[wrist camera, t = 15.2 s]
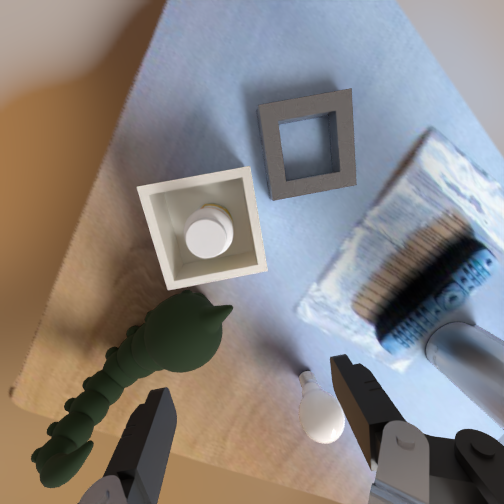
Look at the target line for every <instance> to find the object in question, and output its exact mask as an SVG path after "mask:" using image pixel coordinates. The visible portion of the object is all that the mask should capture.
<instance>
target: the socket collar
mask: <svg viewBox="0 0 504 504" xmlns="http://www.w3.org/2000/svg"><path fill="white" fill-rule="evenodd" d="M256 111H257V118H258V124H259V131H260V137H261V144H262V150H263V157H264V163H265V170H266V176H267V183H268V189H269V196H270V199H271V200H272V201H274V200H279V199H285V198H290V197H295V196H301V195H306V194H311V193H317V192H322V191H327V190H333V189H338V188H343V187H348V186H354V185H357V184H356V165H355V146H354V127H353V107H352V88H351V89H345V90H340V91H334V92H329V93H323V94H317V95H312V96H306V97H300V98H295V99H289V100H284V101H278V102H272V103H267V104H261V105H258V108H257V110H256ZM323 116H328V119H329V132H330V145H331V157H332V170H333V172H331V173H326V174H320V175H315V176H310V177H304V178H299V179H294V180H288V181H286V177H285V170H284V162H283V154H282V147H281V139H280V132H279V124H284V123H290V122H295V121H301V120H306V119H312V118H317V117H323Z"/></svg>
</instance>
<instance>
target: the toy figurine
mask: <svg viewBox="0 0 504 504" xmlns="http://www.w3.org/2000/svg"><path fill="white" fill-rule="evenodd" d="M232 310H233V306H232V305H221V306H213V305H212V304H211V303H210V301H209V300H208V299H207V298H206V297H205V296H204V295H203V294H201V293H196V292H195V293H192V291H190V290H185V291H183V292H182V293H180V294H177V295H174V296H172V297H170V298H168V299H166V300H165V301H163V302H162V303H160V304H159V305H158V306H157V307H156V308H155V309H154V310H152V311H150V312H148V313H147V315H146V318H145V323H144V324H143V325H142V326H141V327H140V328H139V326H133V327H130V328H129V329H128V331H127V334H126V335H127V339H126V340H124V341H123V343H122V344H121V346H120V347H119V348H118V347H112V348H110V349H109V350H107V353H106V356H105V357H106V359H107V360H106V362H105V364H104V366H103V370H101V371H99V372H97V373H96V374H95V375H93V376H92V377H88V378H87V379H86V380H85V381H84V382H83V388H84V390H85V391H84V392H82V393H81V394H80V395H79V396H78V397H77V398H71V399H68V400H67V402H66V403H65V405H64V408H65V410H66V411H68V412H69V414H68V415H66V416H65V417H64V418H63V419H61V420H60V421H59V422H54V423H52V424H51V425H50V426H49V427H48V429H47V434H48V435H49V436H52V438H51V439H50V440H49V441H48V442H47V443H46V444H45V445H44V446H43V447H41V448H38V449H36V450H35V451H34V453H33V454H32V456H31V460H32V462H34V463H36V469H37V471H38V472H39V473H40V481H41V483H42V484H43V485H44V487H47V488H55V487H60V486H61V485H63V484H65V483H66V482H68V481H69V480H70V479H71V478H72V477H73V476H74V475H75V474H76V473H77V472H78V471H79V469H80V468H81V467H82V465H83V463H84V462H85V460H86V458H87V457H88V455H89V454H90V452H91V450H92V448H93V444H94V443H93V442H92V441H88V440H89V438H90V437H91V434H92V432H93V429H94V426H95V425H97V424H98V423H99V422H101V421H102V419H103V418H104V417H105V416H106V414H107V412H108V409H109V406H110V405H112V404H113V403H115V402H116V401H117V400H118V399H119V397H120V396H121V394H122V393H123V390H124V388H125V387H128V386H130V385H132V384H133V383H134V382H135V381H137V379H139V378H143V377H147V376H148V375H150V374H152V373H153V372H155V371H160V370H163V369H166V370H168V371H171V372H180V373H182V372H188V371H192V370H195V369H197V368H199V367H201V366H203V365H204V364H206V363H207V362H208V361H209V360H210V359H211V358H212V357H213V356H214V354H215V353H216V351H217V349H218V347H219V345H220V342H221V338H222V322H223V321H224V320H225V319H226V317H227V316H228V315H229V314H230V313H231V311H232ZM87 441H88V442H87Z"/></svg>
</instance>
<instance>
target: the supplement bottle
mask: <svg viewBox="0 0 504 504" xmlns="http://www.w3.org/2000/svg"><path fill="white" fill-rule="evenodd" d="M183 234H184V239H185V242H186V245H187V247H188V249H189V250H190V251H191V252H192V253H193V254H194V255H196V256H198V257H200V258H213V257H215V256H217V255H220V254H222V253H223V252H225V251H226V250H227V249H228V248H229V246H230V245H231V242H232V240H233V220H232V216H231V214H230V212H229V211H228V210H227V209H226V208H225V207H224V206H222V205H220V204H217V203H206V204H204V205H202V206H200V207H199V208H198V209H197V210H195V211H194V212H193V213H192V214H191V215H190V216H189V217H188V219H187V221H186V223H185V225H184V230H183Z"/></svg>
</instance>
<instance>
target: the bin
mask: <svg viewBox="0 0 504 504" xmlns="http://www.w3.org/2000/svg"><path fill="white" fill-rule="evenodd" d="M137 190H138V194H139V197H140V200H141V204H142V207H143V210H144V213H145V217H146V220H147V223H148V227H149V230H150V233H151V237H152V240H153V243H154V246H155V250H156V253H157V256H158V260H159V263H160V266H161V270H162V273H163V276H164V279H165V283H166V286H167V289H168V290H173V289H178V288H183V287H188V286H194V285H199V284H204V283H209V282H214V281H219V280H224V279H229V278H234V277H239V276H245V275H250V274H255V273H260V272H265V271H268V269H267V263H266V257H265V251H264V245H263V239H262V234H261V228H260V222H259V216H258V210H257V204H256V198H255V192H254V186H253V181H252V175H251V169H250V166H247V167H241V168H236V169H230V170H225V171H219V172H214V173H209V174H203V175H198V176H192V177H187V178H181V179H176V180H171V181H165V182H160V183H154V184H149V185H143V186H138V187H137ZM206 203H217V204H220V205H222V206H224V207H225V208H226V209H227V210H228V211H229V212H230V214H231V216H232V220H233V240H232V242H231V245H230V246H229V248H228V249H227V250H226V251H225V252H223V253H222V254H220V255H217V256H215V257H213V258H200V257H198V256H196V255H194V254H193V253H192V252H191V251H190V250H189V249H188V247H187V245H186V242H185V239H184V234H183V230H184V225H185V223H186V221H187V219H188V217H189V216H190V215H191V214H192V213H193V212H194V211H195V210H197V209H198V208H199V207H200V206H202V205H204V204H206Z"/></svg>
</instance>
